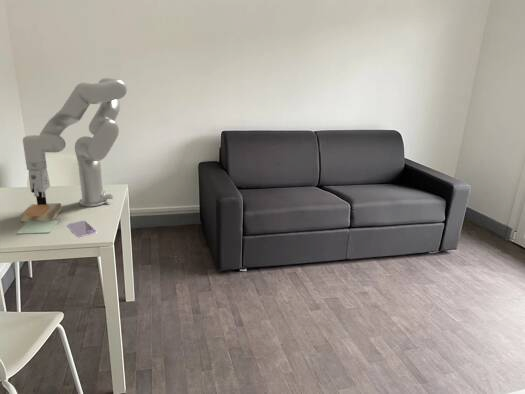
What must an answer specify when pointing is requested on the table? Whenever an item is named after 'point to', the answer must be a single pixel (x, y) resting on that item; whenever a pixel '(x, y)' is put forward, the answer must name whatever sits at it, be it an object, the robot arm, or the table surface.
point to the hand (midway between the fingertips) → (42, 205)
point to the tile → (37, 210)
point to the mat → (38, 227)
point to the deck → (48, 215)
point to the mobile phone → (81, 228)
